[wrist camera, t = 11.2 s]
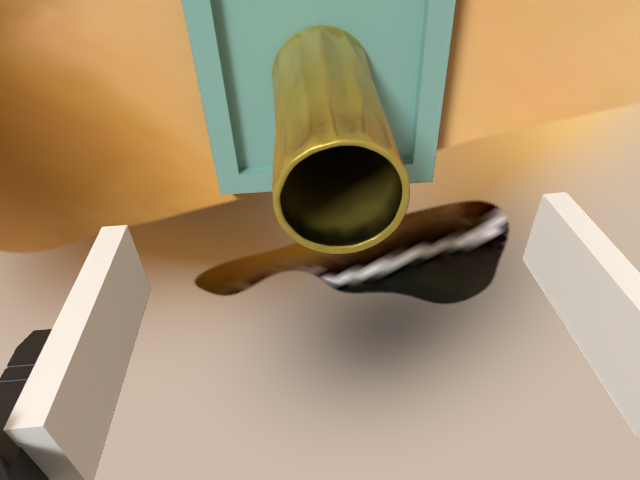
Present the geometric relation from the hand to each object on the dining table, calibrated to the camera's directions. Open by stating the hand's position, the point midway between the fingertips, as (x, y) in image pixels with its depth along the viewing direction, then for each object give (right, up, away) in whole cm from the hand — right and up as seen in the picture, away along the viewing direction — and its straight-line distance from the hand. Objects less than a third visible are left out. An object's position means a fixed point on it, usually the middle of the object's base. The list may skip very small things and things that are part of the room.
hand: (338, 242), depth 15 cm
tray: (0, +11, +14) cm, 18 cm away
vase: (-1, +10, +14) cm, 17 cm away
